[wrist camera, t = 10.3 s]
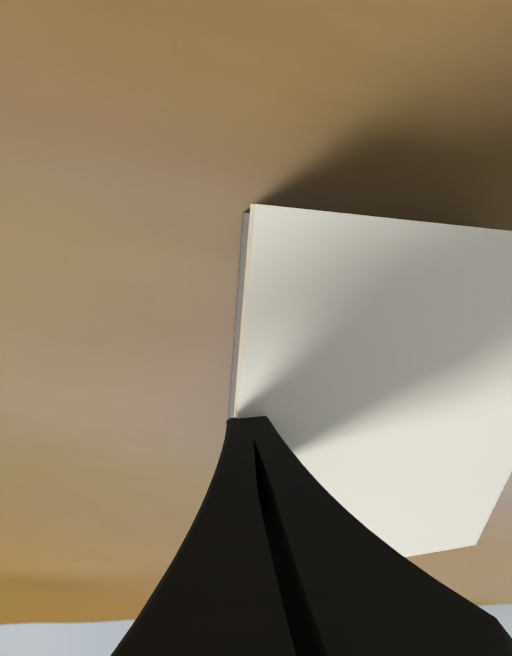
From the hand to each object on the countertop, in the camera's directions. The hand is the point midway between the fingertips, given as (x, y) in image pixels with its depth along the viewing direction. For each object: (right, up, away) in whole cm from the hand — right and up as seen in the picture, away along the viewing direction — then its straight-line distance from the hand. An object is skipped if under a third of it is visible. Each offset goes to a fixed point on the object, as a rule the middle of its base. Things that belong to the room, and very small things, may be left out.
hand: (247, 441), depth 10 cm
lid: (+5, 0, +2) cm, 6 cm away
